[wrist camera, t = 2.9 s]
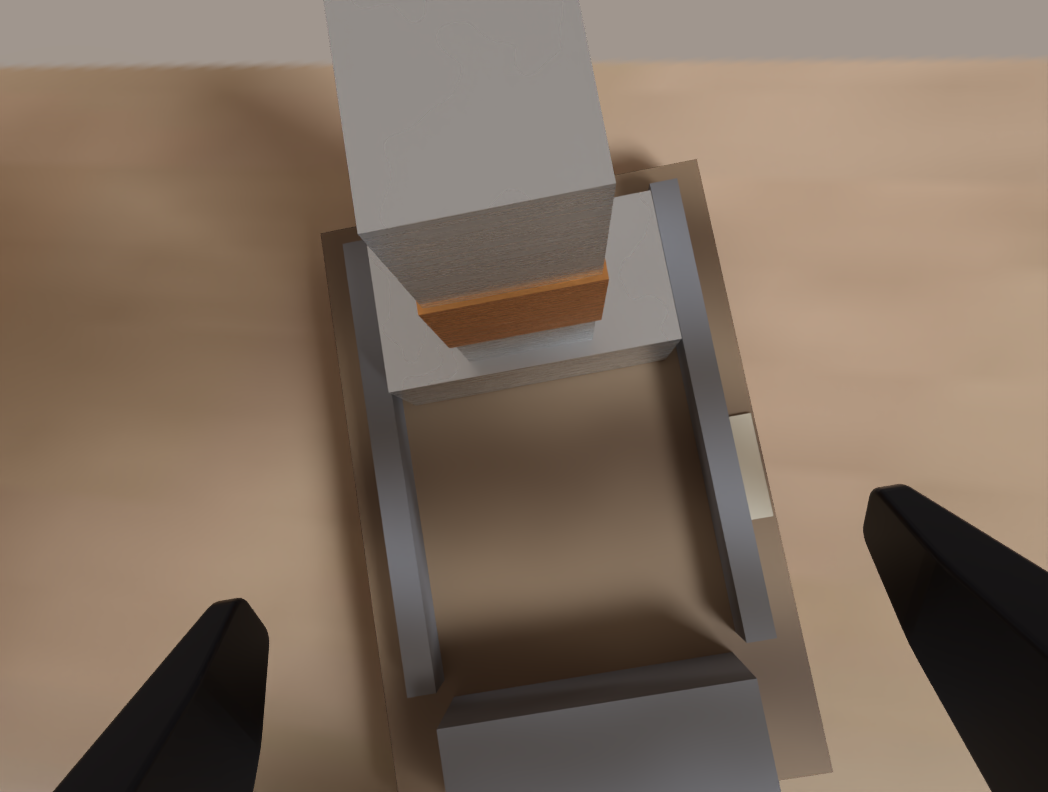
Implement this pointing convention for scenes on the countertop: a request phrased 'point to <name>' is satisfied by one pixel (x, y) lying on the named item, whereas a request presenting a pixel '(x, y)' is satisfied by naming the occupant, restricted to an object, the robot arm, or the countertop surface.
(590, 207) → the sliding jaw
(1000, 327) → the countertop surface
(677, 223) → the base
